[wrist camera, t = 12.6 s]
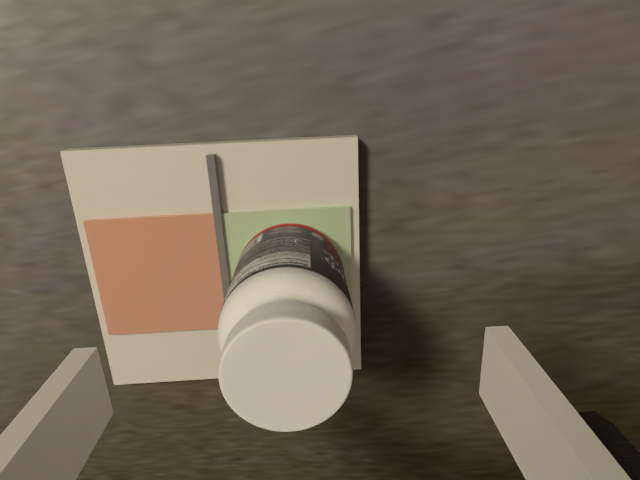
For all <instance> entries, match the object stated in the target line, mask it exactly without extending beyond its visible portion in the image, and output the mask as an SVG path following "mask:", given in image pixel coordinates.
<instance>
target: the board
mask: <svg viewBox="0 0 640 480" xmlns="http://www.w3.org/2000/svg"><path fill="white" fill-rule="evenodd" d="M60 153H61V158H62V162H63V166H64V171H65V175H66V179H67V183H68V188H69V192H70V196H71V201H72V205H73V209H74V214H75V218H76V222H77V227H78V231H79V235H80V240H81V244H82V248H83V252H84V257H85V261H86V265H87V270H88V274H89V278H90V283H91V287H92V291H93V296H94V300H95V304H96V309H97V313H98V317H99V322H100V326H101V330H102V334H103V339H104V343H105V347H106V352H107V356H108V360H109V365H110V369H111V373H112V378H113V382H114V385H121V384H136V383H152V382H168V381H183V380H199V379H215V378H219V375H218V370H219V363H220V359H221V351H220V347H219V342H218V322H219V317H220V312H221V309H222V306H223V304H224V301H225V298H226V295H227V292H228V289H229V287H230V284H231V281H232V278H233V275H234V272H235V269H236V266H237V263H238V260H239V258H240V255H241V253H242V251H243V249H244V248H245V246H246V245H247V243H248V242H249V241H250V240H251V239H252V238H253V237H254V236H255V235H256V234H257V233H259V232H260V231H262V230H263V229H265V228H267V227H270V226H273V225H276V224H280V223H300V224H304V225H308V226H310V227H313V228H315V229H317V230H318V231H320V232H321V233H323V234H324V235H325V236H326V237H328V238H329V240H330V241H331V242H332V243H333V244H334V246H335V247H336V249H337V251H338V253H339V255H340V258H341V261H342V264H343V269H344V273H345V277H346V281H347V285H348V290H349V294H350V298H351V302H352V306H353V310H354V314H355V318H356V342H355V346H354V350H353V353H352V356H351V360H352V367H353V370H356V369H361V322H360V251H359V181H358V137H357V136H356V135H341V136H321V137H300V138H279V139H258V140H238V141H217V142H196V143H176V144H155V145H134V146H113V147H93V148H72V149H66V150H63V151H60Z"/></svg>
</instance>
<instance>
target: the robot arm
mask: <svg viewBox="0 0 640 480" xmlns="http://www.w3.org/2000/svg"><path fill="white" fill-rule="evenodd" d="M479 395H480V396H481V398H482V400H483V402H484V404H485V406H486V407H487V409H488V411H489V413H490V415H491V417H492V419H493V420H494V422H495V424H496V426H497V428H498V430H499V431H500V433H501V435H502V437H503V439H504V441H505V443H506V444H507V446H508V448H509V450H510V452H511V454H512V455H513V457H514V459H515V461H516V463H517V465H518V467H519V468H520V470H521V472H522V474H523V476H524V478H525V479H526V480H640V453H639V452H638V451H637V450H636V449H635V448H634V447H633V445H632V444H629V442H628V440H627V439H626V437H625V436H624V435H623V434H622V433H621V432H620V431H619V429H618V428H617V427H616V426H615V425H614V424H612V423H611V422H610V421H608V420H607V419H605V418H604V417H602V416H601V415H599V414H598V413H596V412H595V411H593V412H577V411H576V410H575V409H574V407H573V406H572V405H571V404H570V402H569V401H568V400H567V399H566V398H565V396H564V395H563V394H562V393H561V391H560V390H559V389H558V388H557V386H556V385H555V384H554V383H553V381H552V380H551V379H550V378H549V376H548V375H547V374H546V373H545V371H544V370H543V369H542V368H541V366H540V365H539V364H538V363H537V361H536V360H535V359H534V358H533V356H532V355H531V354H530V353H529V351H528V350H527V349H526V348H525V346H524V345H523V344H522V343H521V341H520V340H519V339H518V338H517V336H516V335H515V334H514V333H513V332H512V330H511V329H510V328H509V327H508V326H498V327H486V328H485V338H484V348H483V358H482V368H481V378H480V388H479ZM112 415H113V409H112V405H111V401H110V397H109V393H108V389H107V385H106V381H105V377H104V373H103V370H102V366H101V362H100V358H99V354H98V350H97V347H93V348H74V349H73V350H72V351H71V353H70V354H69V355H68V356H67V357H66V358H65V360H64V361H63V362H62V363H61V364H60V366H59V367H58V368H57V369H56V370H55V371H54V373H53V374H52V375H51V376H50V377H49V379H48V380H47V381H46V382H45V383H44V384H43V386H42V387H41V388H40V389H39V390H38V392H37V393H36V394H35V395H34V396H33V397H32V399H31V400H30V401H29V402H28V403H27V404H26V406H25V407H24V408H23V409H22V410H21V412H20V413H19V414H18V415H17V416H16V417H15V419H14V420H13V421H12V422H11V423H10V425H9V426H8V427H7V428H6V429H5V430H4V432H3V433H2V434H1V435H0V480H76V478H77V477H78V475H79V473H80V471H81V469H82V468H83V466H84V464H85V462H86V461H87V459H88V457H89V455H90V454H91V452H92V450H93V448H94V447H95V445H96V443H97V441H98V440H99V438H100V436H101V434H102V433H103V431H104V429H105V427H106V426H107V424H108V422H109V420H110V418H111V417H112Z"/></svg>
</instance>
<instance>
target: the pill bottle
mask: <svg viewBox="0 0 640 480" xmlns="http://www.w3.org/2000/svg"><path fill="white" fill-rule="evenodd" d="M218 342H219V347H220V351H221V359H220V363H219V370H218V375H219V384H220V388H221V391H222V394H223V396H224V398H225V400H226V401H227V403H228V405H229V406H230V407H231V408H232V409H233V410H234V411H235V413H236V414H238V415H239V416H240V417H241V418H243V419H244V420H246V421H247V422H249V423H251V424H253V425H255V426H258V427H261V428H264V429H267V430H272V431H282V432H291V431H299V430H304V429H307V428H310V427H313V426H316V425H318V424H320V423H322V422H323V421H325V420H326V419H328V418H329V417H331V416H332V415H333V414H334V413H335V412H336V411H337V410H338V409H339V408H340V407H341V406H342V404H343V403H344V401H345V400H346V398H347V396H348V394H349V391H350V388H351V385H352V378H353V367H352V360H351V356H352V353H353V350H354V346H355V342H356V318H355V314H354V310H353V306H352V302H351V298H350V294H349V290H348V285H347V281H346V277H345V273H344V269H343V264H342V261H341V258H340V255H339V253H338V251H337V249H336V247H335V246H334V244H333V243H332V242H331V241H330V240H329V238H328V237H326V236H325V235H324V234H323V233H321V232H320V231H318V230H317V229H315V228H313V227H310V226H308V225H304V224H300V223H280V224H276V225H273V226H270V227H267V228H265V229H263V230H262V231H260V232H259V233H257V234H256V235H255V236H254V237H253V238H252V239H251V240H250V241H249V242H248V243H247V245H246V246H245V248H244V249H243V251H242V253H241V255H240V258H239V260H238V263H237V266H236V269H235V272H234V275H233V278H232V281H231V284H230V287H229V289H228V292H227V295H226V298H225V301H224V304H223V306H222V309H221V312H220V317H219V322H218Z"/></svg>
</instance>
